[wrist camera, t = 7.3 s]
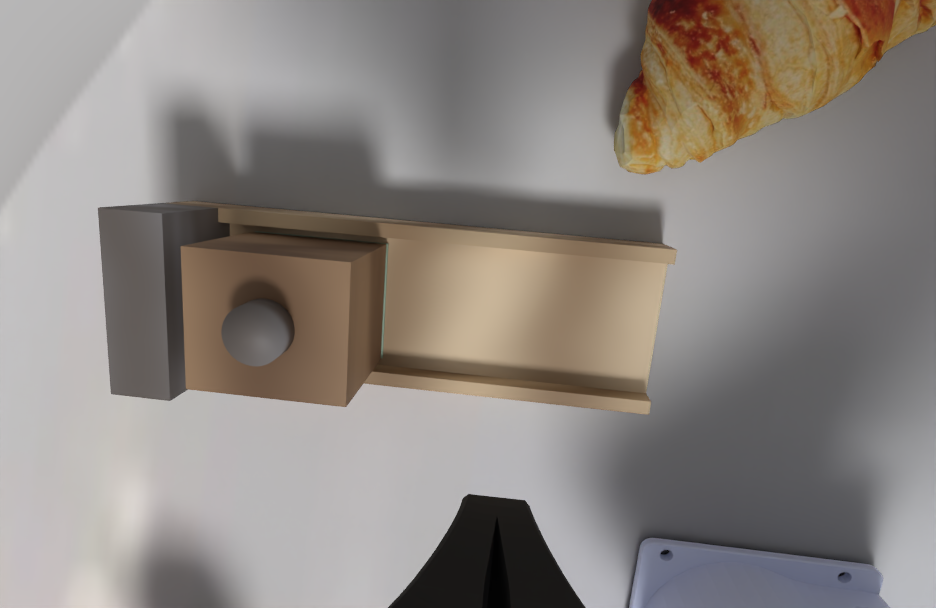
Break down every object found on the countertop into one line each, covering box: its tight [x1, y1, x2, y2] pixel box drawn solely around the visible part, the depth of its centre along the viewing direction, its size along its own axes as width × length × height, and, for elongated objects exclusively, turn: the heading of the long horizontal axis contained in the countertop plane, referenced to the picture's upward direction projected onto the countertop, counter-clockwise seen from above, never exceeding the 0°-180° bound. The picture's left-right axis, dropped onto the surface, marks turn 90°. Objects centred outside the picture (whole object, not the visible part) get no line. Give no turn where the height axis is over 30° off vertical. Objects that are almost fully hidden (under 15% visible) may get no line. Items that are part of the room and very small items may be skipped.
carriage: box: [181, 232, 386, 407], centre depth 18 cm, size 5×4×5 cm
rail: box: [98, 201, 677, 415], centre depth 19 cm, size 18×6×5 cm, turn 85°
